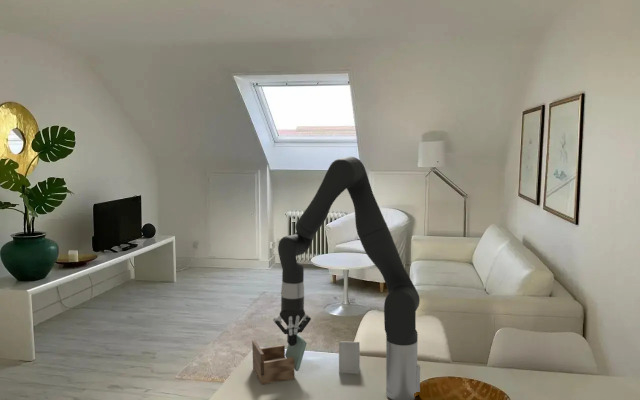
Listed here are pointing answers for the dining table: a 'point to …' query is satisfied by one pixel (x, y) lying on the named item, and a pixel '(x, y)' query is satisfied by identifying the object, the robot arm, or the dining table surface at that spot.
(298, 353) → the panel
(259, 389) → the dining table surface
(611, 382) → the dining table surface
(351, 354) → the grey wedge block
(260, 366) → the brown wooden open box
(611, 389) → the dining table surface
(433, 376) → the dining table surface
